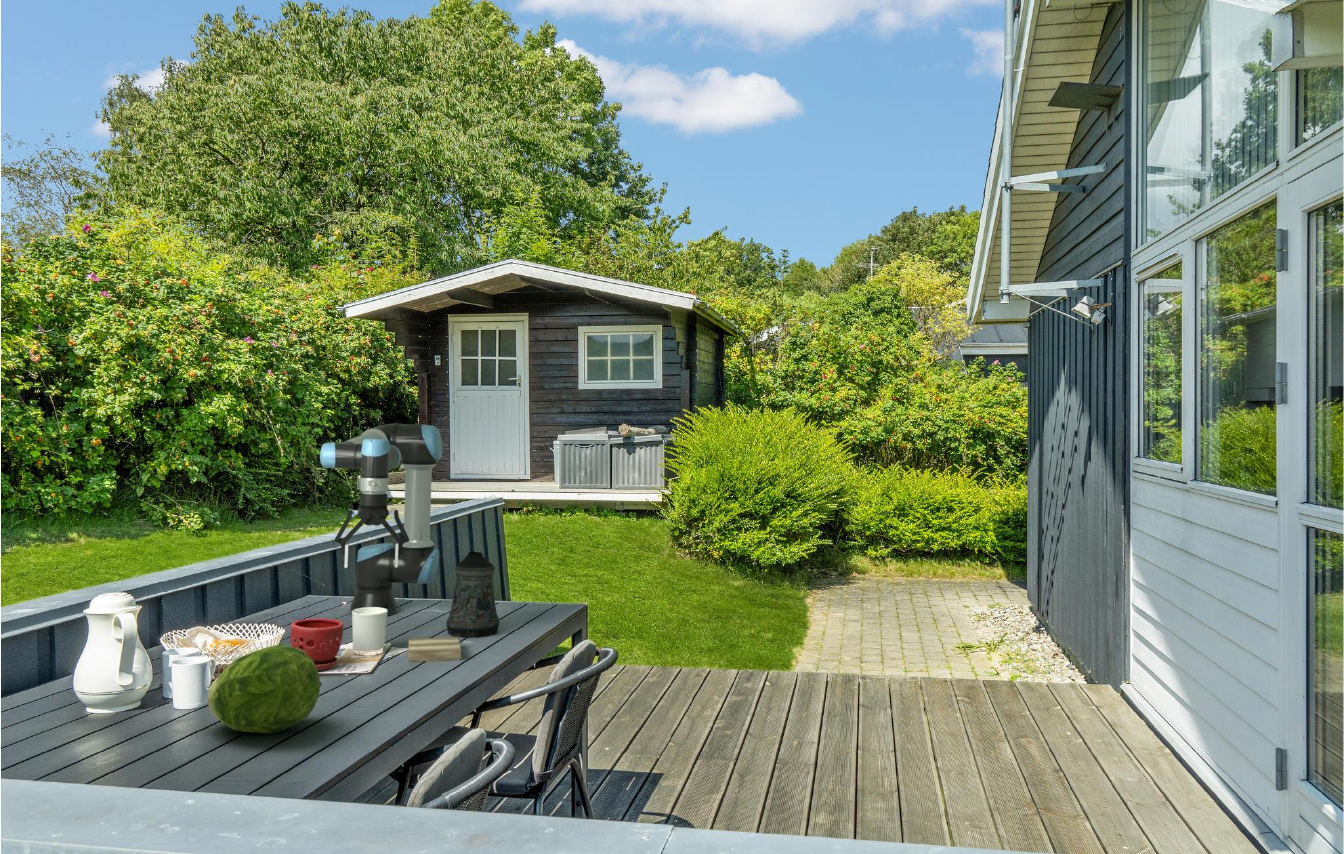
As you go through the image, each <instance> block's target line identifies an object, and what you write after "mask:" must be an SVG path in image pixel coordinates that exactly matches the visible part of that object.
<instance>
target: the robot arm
mask: <svg viewBox="0 0 1344 854" xmlns="http://www.w3.org/2000/svg"><path fill="white" fill-rule="evenodd" d="M440 432H441V431H440V430H439V428H438V427H437V426H435V425H432V424H431V425H430V424H416V423H415V424H407V423H405V424H404V423H389V424H382V425H379V426H375V427H372V428H368V429H367V430H365V431H363V432H362V433H361V434H360V435H359V436H356V437H354V438H350V439H347V440H345V441H342V442H333V441H332V442H325V443H323V444H322V446H321V447H320V448H321V449H320V452H319V460H320V464H321V466H322V467H323V468H326V469H327V468H328V469H345V470H346V469H350V470H354V469H355V470H360V487H359V488H360V492H361V493H360V495H359V509H358V510H355V509H351V508H349V509H348V511H347V516H346V518H345V520H344V522H343V524H342V525H341V527H340V529H339V530H338V532H337V534H336V536H335V537H334V542H335V543H338V544H340V555H341V556H344V567H343V568H344V569H347V568H348V567H349V545H350V544H349V543H348V541H350V539H351V538H352V537H353V536H354V535H356V533H357V531H359V529H360V528H362V526H364V525H365V526H370V527H371V526H375V527H376V526H377V527H378V526H381V525H382V526H383V527H384V528H385V529H386V531H388V533H389V534H390V535H391V537H393V538H394V540H395V541H396V543H395V545H394V543H388V542H384V543H375V544H370V545H366V546H362V547H361V548H359V550H358V551H357V559H356V586H355V587H356V591H355V594H354V595H353V598H352V601H351V603H350V605H349V608H350V609H349V610H350V611H349V614H350V615H351V616H352V611H353V610H354V609H358V608H364V607H380V608H385V609H387V610H388V613H387V617H388V616H392V615H395V614H396V613H397V609H398V605H397V602H396V599H395V595H394V591H393V583H395V584H400V583H401V584H417V585H420V584H430V583H432V582H433V581H434V579H435V577H436V575H437V574H436V573H437V570H438V567H439V561H440V550H439V549H436V548H435V543H434V542H433V541H432V540H431V539H430V537H431V534H430V533H431V510H432V509H431V507H432V506H431V505H432V504H431V503H432V502H431V501H432V471H433V469H434V467H436V466H437V461H440V460H441V459H442V457H443V441H442V440H443V439H442V436H441V433H440ZM399 464H400V465H401V466H402V467H403V468H405V476H404V477H405V480H404V483H405V484H404V516H403V522H402V521H401V518H400V517H399V516H400V513H399V510H398V509H397V508H396V509H394V510H393V509H392V510H389V509H388V499H389V495H388V493H387V492H389V472H390V471H391V470H393V469H395V468H397V467H398V466H399ZM356 515H358V517H359V518H360V520H359V521H358V522H357V524H355V526H353V528H352V529H351V530H349V532H348V533H347V534H346V535H345V536H344V537H343V538H341V537H342V536H343V534H344V532H345V530H346V529H347V528H348V526H349V524H350V522H351V520H352V518H355V517H356ZM389 515H390V516H391V518H392V519H393V518H394V521H395V523H396V525H397V527H398V529H399V531H400V534H401V536H402V537H403V538H401V537H400V535H398V533H397V532H396V531H395V529H393V527H392V526H391V525H390V523H389V522H388V521H387V518H388V516H389Z"/></svg>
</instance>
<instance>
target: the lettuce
mask: <svg viewBox="0 0 1344 854" xmlns="http://www.w3.org/2000/svg"><path fill="white" fill-rule="evenodd" d="M320 690H321V679H320V673H319V671H317V668H316V666H315V664H314V661H313V660H312V659H311V657H310V656H309V655H308V654H307V653H305V652H304V651H303V650H301V649H300V648H296V647H292V646H291V645H285V644H277V645H270V646H268V647H264V648H260V649H258V650H255V651H252V652H250V653H248V654H244V655H243V656H240V657H239V658H238V659H235V660H233V661H231V663H230V664H229V665H228V666H227V667H225V668H224V670H223V671H222V672H221V673H220V674H219V675H218V676H217V677H216V678H215V680H214V681H213V682H212V683H211V684H210V688H209V690H208V692H207V704H208V707H209V709H210V712H211V714H212V715H214V717H216V718H217V719H218V720H219V721H221V722H222V723H223V725H225V726H226V727H227V728H230V729H232V730H233V731H238V732H239V731H240V732H245V733H252V732H253V733H254V734H256V733H257V734H263V735H265V734H267V735H270V734H269V733H271V734H274V733H275V734H276V733H279V732H282V731H284V730H286V729H289V728H292V726H294V725H296V724H297V723H299V722H301V721H303V720H305V719H307V718H308V717H309V716H310V714H311V712H313V710H314V708H315V707H316V704H317V701H318V698H319V696H320Z"/></svg>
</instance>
